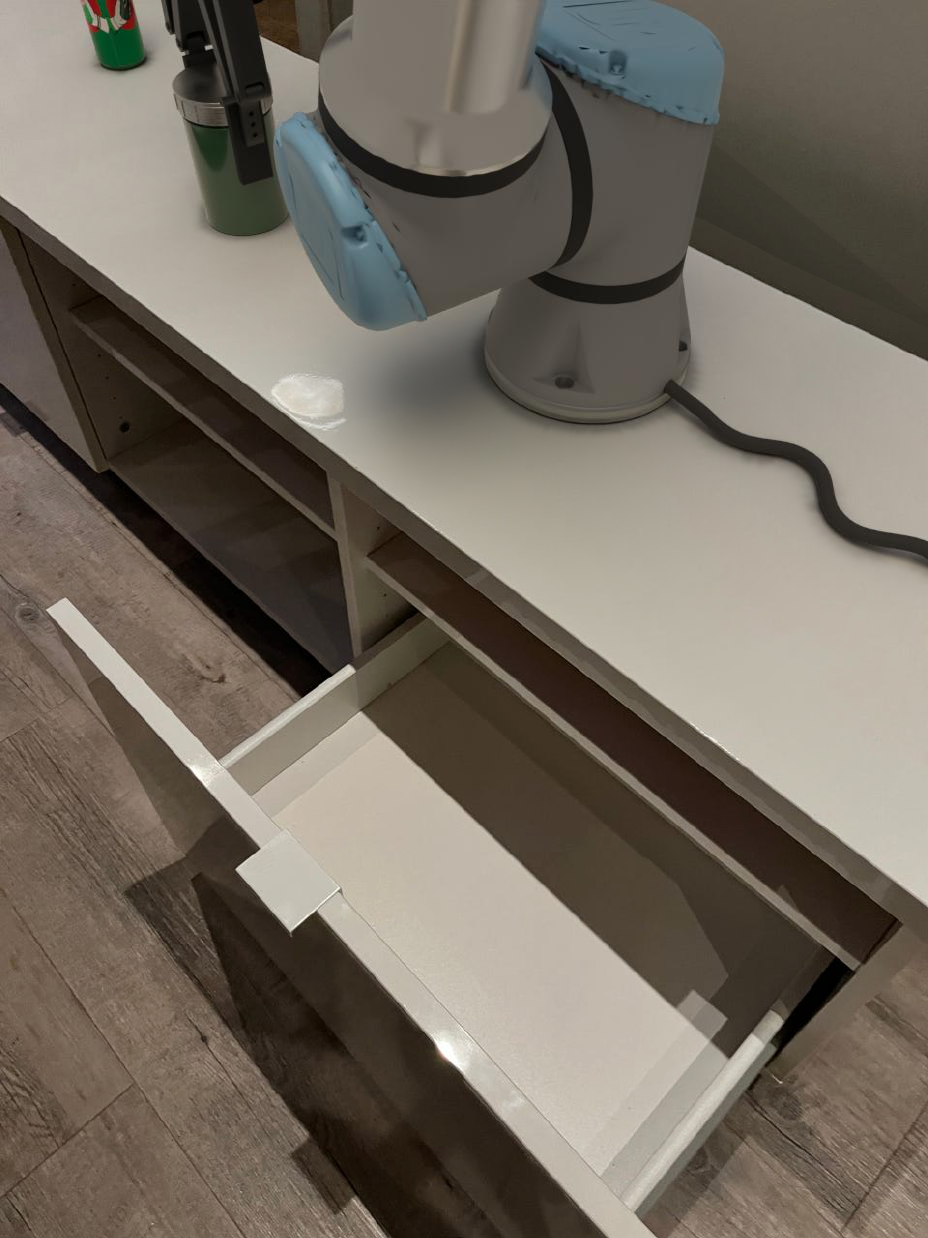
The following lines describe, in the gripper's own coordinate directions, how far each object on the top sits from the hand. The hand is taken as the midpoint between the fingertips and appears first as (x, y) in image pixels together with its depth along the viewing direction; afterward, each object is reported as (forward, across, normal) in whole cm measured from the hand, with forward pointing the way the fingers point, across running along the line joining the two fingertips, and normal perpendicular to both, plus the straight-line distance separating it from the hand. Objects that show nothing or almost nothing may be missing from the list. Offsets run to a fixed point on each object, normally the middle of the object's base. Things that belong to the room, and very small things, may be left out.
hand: (236, 156), depth 77 cm
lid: (-6, 0, 0) cm, 6 cm away
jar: (+5, 0, 0) cm, 5 cm away
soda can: (+5, -34, +1) cm, 34 cm away
